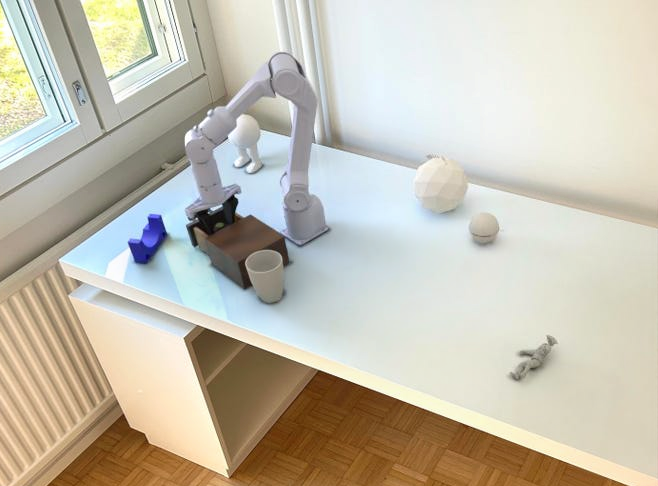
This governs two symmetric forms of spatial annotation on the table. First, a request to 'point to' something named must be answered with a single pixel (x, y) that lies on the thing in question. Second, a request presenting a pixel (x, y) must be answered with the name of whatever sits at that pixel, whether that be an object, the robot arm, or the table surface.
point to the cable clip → (148, 239)
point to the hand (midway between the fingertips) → (221, 229)
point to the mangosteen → (219, 227)
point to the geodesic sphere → (440, 184)
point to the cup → (266, 274)
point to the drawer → (199, 231)
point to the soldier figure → (534, 357)
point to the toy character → (246, 142)
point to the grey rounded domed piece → (484, 227)
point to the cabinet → (243, 247)
